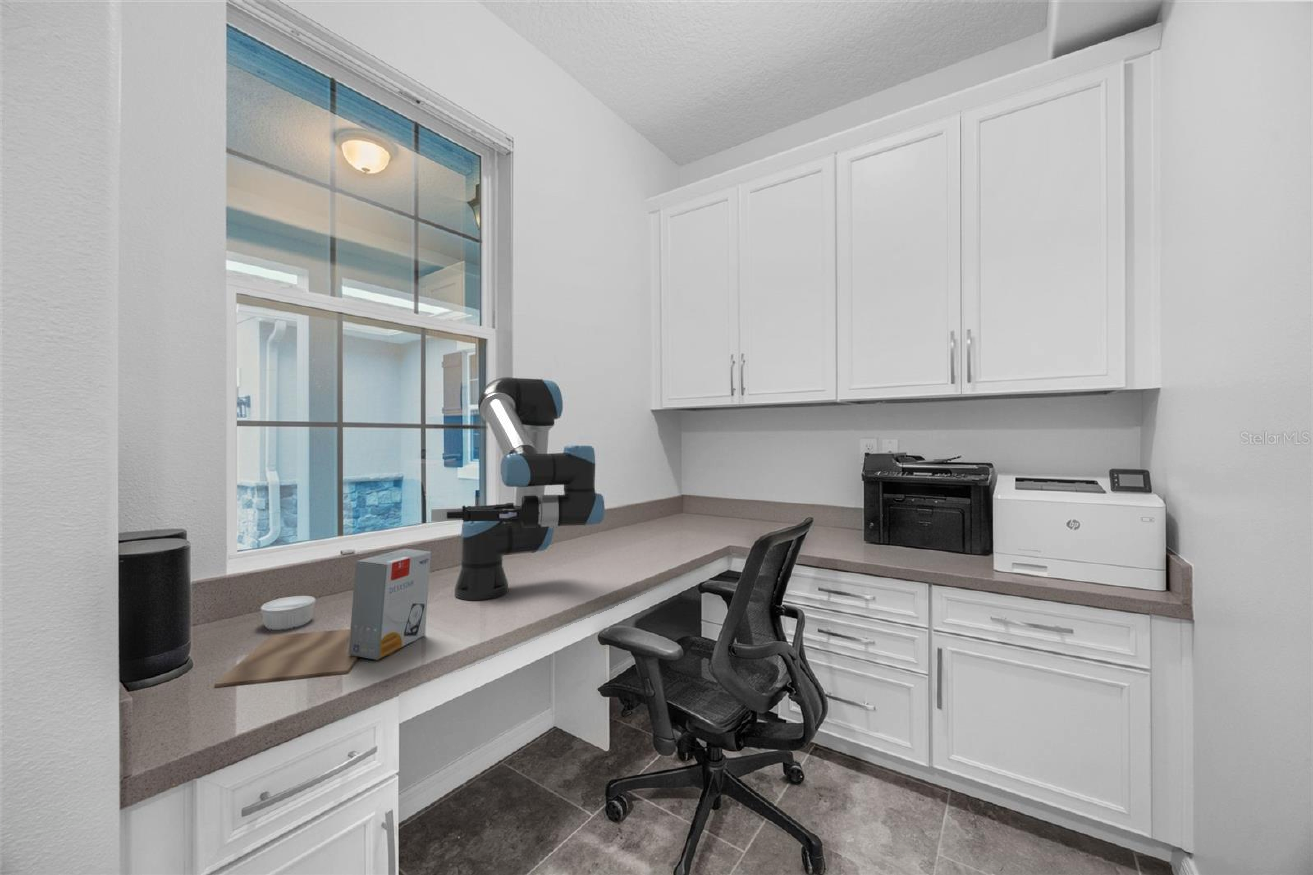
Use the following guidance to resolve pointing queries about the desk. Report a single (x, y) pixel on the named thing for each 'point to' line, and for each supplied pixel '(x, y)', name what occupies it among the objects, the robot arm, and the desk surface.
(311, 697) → the desk surface
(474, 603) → the desk surface
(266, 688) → the desk surface
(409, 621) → the hard drive box
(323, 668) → the walnut board
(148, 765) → the desk surface
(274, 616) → the ramekin
